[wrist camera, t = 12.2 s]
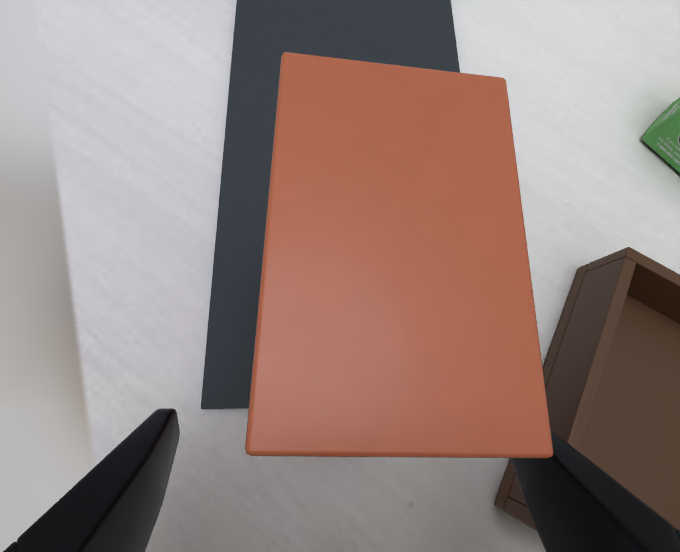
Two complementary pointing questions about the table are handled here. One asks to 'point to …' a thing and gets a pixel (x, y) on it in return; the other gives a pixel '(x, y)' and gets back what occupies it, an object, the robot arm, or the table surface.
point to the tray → (617, 380)
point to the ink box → (666, 135)
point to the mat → (258, 136)
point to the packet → (394, 271)
